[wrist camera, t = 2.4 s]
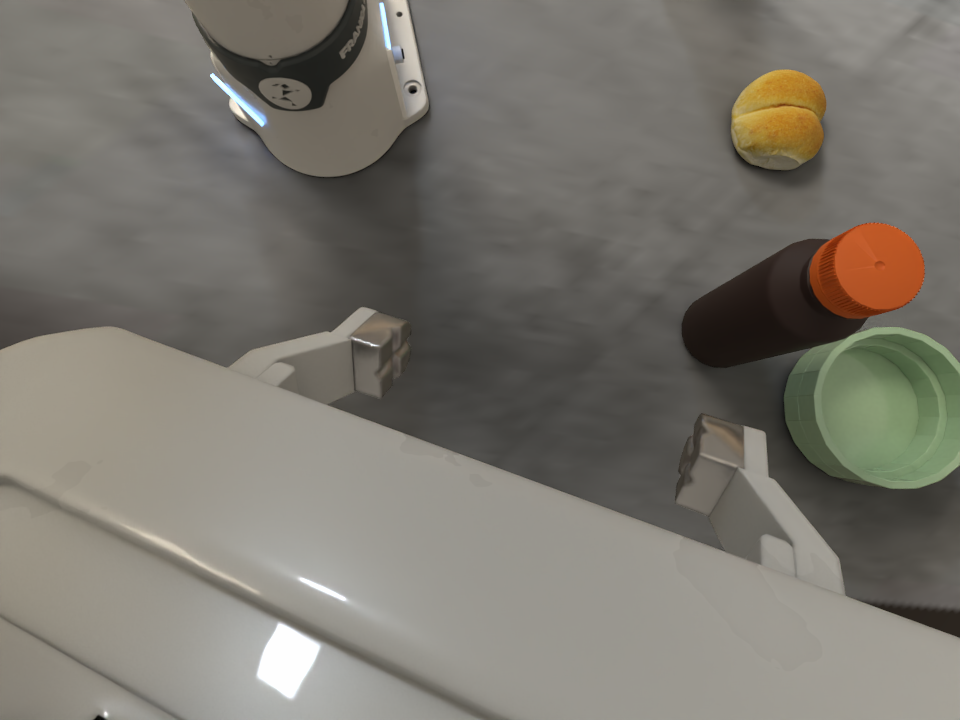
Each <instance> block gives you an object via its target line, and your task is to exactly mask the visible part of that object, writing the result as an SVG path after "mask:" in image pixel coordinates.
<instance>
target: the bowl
mask: <svg viewBox="0 0 960 720" xmlns="http://www.w3.org/2000/svg"><path fill="white" fill-rule="evenodd" d="M784 409H785V420H786V424H787V426H788V429H789V431H790V433H791V436H792V438H793V441H794V443H795V444H796V445H797V447H798V448H799V449H800V450H801V452H802V453H803V454H804V455H805V457H806V458H807V459H808V460H809V461H810V462H811V463H812V464H814V465H815V466H817V467H818V468H820V469H821V470H822V471H824V472H825V473H827V474H828V475H830V476H832V477H836V478H839V479H842V480H845V481H849V482H852V483H857V484H863V485H870V486H876V487H882V488H889V489H917V488H921V487H923V486H926V485H929V484H932V483H935V482H938V481H940V480H942V479H943V478H945V477H946V476H947V475H948V474H949V473H951V472H952V471H953V470H954V469H956V468H957V467H958V466H959V465H960V363H959V362H958V361H957V360H956V359H955V358H954V356H953V355H952V354H951V353H950V352H949V351H948V350H947V349H946V348H945V347H943V346H942V345H940V344H939V343H937V342H936V341H934V340H933V339H931V338H929V337H928V336H926V335H924V334H921V333H918V332H914V331H911V330H907V329H904V328H901V327H875V328H871V329H867V330H863V331H859V332H855V333H853V334H852V335H850V336H849V337H847V338H846V339H843V340H839V341H836V342H832V343H829V344H825V345H820V346H816V347H813V348H812V349H811V350H809V351H808V352H807V353H805V354H804V355H803V356H802V357H801V358H800V359H799V361H798V362H797V364H796V365H795V367H794V369H793V370H792V372H791V373H790V375H789V377H788V381H787V385H786V389H785V393H784Z"/></svg>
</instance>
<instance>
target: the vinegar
mask: <svg viewBox="0 0 960 720" xmlns="http://www.w3.org/2000/svg"><path fill="white" fill-rule="evenodd" d="M913 241H914V240H912V239H911V237H909V236H908V235H906V234H905V232H902V231H901V230H899V229H898V228H895V227H894V226H893V227H892V226H890V225H887V224H883V223H881V224H879V223H876V224H875V222H874V223H872V224H871V223H868V224H867V223H866V224H864V225H863V224H862V225H858V226H856V227H854V228H852V229H850V230H848V231H846V232H844V233H843V234H841V235H839V236H837V237H835V238H833V239H831V240H828V239H807V240H803V241H800V242H796V243H793V244H791V245H789V246H787V247H786V248H784V249H782V250H780V251H779V252H777V253H775V254H774V255H772V256H770V257H769V258H767V259H765V260H764V261H762V262H760V263H758V264H757V265H755V266H753V267H752V268H750V269H748V270H747V271H745V272H743V273H742V274H740V275H738V276H736V277H735V278H733V279H731V280H730V281H728V282H726V283H725V284H723V285H721V286H720V287H718V288H716V289H714V290H713V291H711V292H709V293H708V294H706V295H704V296H703V297H701V298H700V299H698V300H697V301H695V302H694V303H692V305H691V306H690V307H689V309H688V310H687V311H686V313H685V316H684V319H683V322H682V337H683V340H684V343H685V346H686V347H687V349H688V350H689V351H690V353H691V354H692V356H694V357H695V358H696V359H698V360H699V361H700V362H702V363H704V364H707V365H709V366H712V367H721V368H727V367H731V366H736V365H740V364H744V363H748V362H753V361H757V360H761V359H765V358H770V357H774V356H778V355H782V354H787V353H791V352H795V351H799V350H803V349H808V348H812V347H816V346H820V345H825V344H829V343H832V342H836V341H839V340H843V339H846V338H847V337H849V336H850V335H852V334H853V333H855V332H856V331H857V330H859V329H860V328H861V327H862V325H863V324H864V323H865V321H866V320H867V318H868V317H870V316H873V315H878V314H882V313H885V312H889V311H892V310H896V309H899V308H901V307H903V306H904V305H906V304H907V303H909V301H912V299H913V298H915V297H914V296H915V295H917V292H920V291H919V289H921V285H923V284H922V282H923V281H924V280H923V278H925V277H924V274H925V273H924V270H925V269H924V266H925V265H924V260H923V258H922V254H921V253H920V250H919V247H917V245H916V244H915V243H914V242H913Z"/></svg>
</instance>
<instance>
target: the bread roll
mask: <svg viewBox="0 0 960 720" xmlns="http://www.w3.org/2000/svg"><path fill="white" fill-rule="evenodd" d="M825 110H826V99H825V95H824V92H823V90H822V88H821V86H820V85H819V84H818V83H817V82H816V81H815V80H813V79H812V78H811V77H809V76H807V75H805V74H803V73H801V72H797V71H793V70H776V71H772V72H770V73H767V74H765V75H763V76H761V77H760V78H758V79H756V80H755V81H753V82H752V83H751V84H750V85H748V86H747V87H746V88H745V89H744V90H743V92H742V93H741V94H740V96H739V97H738V99H737V101H736V102H735V104H734V106H733V109H732V113H731V114H732V123H731V137H732V140H733V144H734V146H735V148H736V150H737V152H738V153H739V154H740V156H741V157H742V158H743V159H745V160H746V161H747V162H748V163H750V164H752V165H756V166H760V167H763V168H766V169H774V170H791V169H795V168H797V167H798V166H800V165H801V164H802V163H804V162H806V161H808V160H810V159H811V158H813V157H814V156H815V155H816V153H817V152H818V150H819V149H820V147H821V145H822V142H823V138H824V133H823V129H822V127H821V124H820V121H821V119H822V117H823V116H824V113H825Z"/></svg>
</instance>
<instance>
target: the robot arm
mask: <svg viewBox="0 0 960 720" xmlns="http://www.w3.org/2000/svg"><path fill="white" fill-rule="evenodd" d="M184 1H185V3H186V4H187V5H188V7H189V8H190V9H191V11H192V15H193V18H194V21H195V23H196V26H197V27H198V29H199V31H200V33H201V35H202V36H203V39H204V41H205V43H206V44H207V46H208V47H209V49H210V50H211V54H210V56H211V60H212V63H213V65H214V67H215V68H216V70H217V72H218V73H219V75H220V77H221V78H222V80H223V82H224V83H225V85H226V86H227V87H226V86H225V85H224V84H223V83H222V82H221V81H220V80H219V79H218V78H217V77H216V76H215V75H214V74H213V73H212V74H211V75H210V76H211V78H212V79H213V80H214V81H215V82H216V83H217V84H218V85H219V86H220V87H221V88H222V89H223V90H224V91H225V92H226V93H227V94H228V95H229V96H231V97H230V101H229V106H230V109H231V111H232V112H233V114H234V116H235V117H236V118H237V119H238V120H239V121H241V122H242V123H243V124H245V125H247V126H248V127H250V128H251V129H253V130H255V131H256V132H257V133H258V134H259V136H260V137H261V139H262V140H263V142H264V143H265V145H266V146H267V148H268V149H269V150H270V152H271V153H272V154H273V155H274V156H275V157H276V158H277V159H278V160H280V161H281V162H282V163H284V164H285V165H287V166H288V167H290V168H292V169H294V170H296V171H298V172H301V173H304V174H307V175H312V176H318V177H336V176H343V175H347V174H351V173H354V172H357V171H359V170H361V169H363V168H365V167H367V166H369V165H371V164H372V163H374V162H375V161H376V160H378V159H379V158H380V157H381V156H382V155H383V154H384V153H385V152H386V151H387V150H388V149H389V148H390V147H391V145H392V144H393V143H394V141H395V140H396V138H397V137H398V136H399V134H400V133H401V132H402V131H403V130H404V129H405V128H406V127H408V126H409V125H411V124H412V123H414V122H416V121H417V120H419V119H420V118H421V117H423V116H424V115H425V114H426V112H427V111H428V108H429V101H428V96H427V91H426V86H425V82H424V77H423V72H422V67H421V63H420V58H419V53H418V48H417V44H416V39H415V34H414V29H413V25H412V20H411V15H410V10H409V6H408V1H407V0H184ZM412 90H416V91H417V92H416V93H415V94H411V93H410V92H411V91H412ZM410 335H411V324H410V323H409V322H408V321H405V320H402V319H399V318H396V317H393V316H390V315H387V314H385V313H382V312H378V311H375V310H372V309H369V308H366V307H361V308H359V309H358V310H357V311H356V312H354V313H353V314H352V315H351V316H350V317H349V318H347V319H346V320H345V321H344V322H343V323H342V324H340V325H339V326H338V327H337V328H336V329H335V330H334V331H332V332H331V333H330V332H327V331H326V332H322V333H318V334H314V335H310V336H306V337H302V338H298V339H294V340H290V341H285V342H281V343H277V344H273V345H269V346H265V347H261V348H257V349H253V350H250V351H249V352H248V353H246V354H245V355H244V356H242V357H241V358H240V359H239V360H237V361H236V362H235V363H233V364H232V365H231V366H229V367H228V368H225V367H223V366H220V365H217V364H215V363H212V362H209V361H206V360H204V359H201V358H198V357H196V356H193V355H190V354H187V353H185V352H182V351H179V350H177V349H174V348H171V347H168V346H166V345H163V344H160V343H158V342H155V341H152V340H150V339H147V338H144V337H142V336H139V335H137V334H134V333H132V332H129V331H126V330H124V329H120V328H116V327H97V328H87V329H80V330H74V331H68V332H62V333H56V334H50V335H44V336H39V337H35V338H32V339H28V340H25V341H22V342H20V343H17V344H14V345H12V346H9V347H7V348H4V349H2V350H0V720H960V638H958V637H955V636H953V635H950V634H947V633H945V632H942V631H939V630H936V629H933V628H931V627H928V626H925V625H923V624H920V623H917V622H914V621H912V620H909V619H906V618H904V617H901V616H898V615H895V614H892V613H890V612H887V611H884V610H882V609H879V608H876V607H874V606H871V605H868V604H866V603H863V602H860V601H857V600H855V599H852V598H849V597H847V596H846V595H845V589H844V583H843V577H842V571H841V566H840V560H839V558H838V556H837V555H836V554H835V553H834V552H833V550H832V549H831V548H830V547H829V545H828V544H827V543H826V542H825V541H824V539H823V538H822V537H821V536H820V534H819V533H818V532H817V531H816V529H815V528H814V527H813V526H812V525H811V523H810V522H809V521H808V520H807V518H806V517H805V516H804V515H803V514H802V512H801V511H800V510H799V509H798V507H797V506H796V505H795V504H794V502H793V501H792V500H791V499H790V498H789V496H788V495H787V494H786V493H785V491H784V490H783V489H782V488H781V487H780V485H779V484H778V483H777V482H776V480H775V479H772V478H769V473H768V459H767V444H766V434H765V432H764V431H761V430H758V429H754V428H751V427H747V426H744V425H742V426H741V425H738V424H735V423H731V422H728V421H725V420H722V419H718V418H715V417H712V416H709V415H705V414H702V413H701V414H700V415H699V417H698V418H697V421H696V423H695V425H694V434H693V435H692V436H690V437H688V439H687V442H686V444H685V446H684V449H683V452H682V455H681V458H680V463H679V469H678V472H679V473H680V475H681V476H680V478H679V480H678V482H677V486H676V495H675V504H677V505H680V506H682V507H685V508H687V509H690V510H693V511H695V512H698V513H701V514H703V515H706V516H708V517H709V520H710V522H711V524H712V526H713V528H714V530H715V532H716V534H717V536H718V538H719V540H720V542H721V544H722V546H723V548H724V550H725V552H724V551H722V550H719V549H716V548H714V547H711V546H708V545H705V544H703V543H700V542H697V541H695V540H692V539H689V538H686V537H684V536H681V535H678V534H676V533H673V532H670V531H668V530H665V529H662V528H659V527H657V526H654V525H651V524H649V523H646V522H643V521H640V520H638V519H635V518H632V517H630V516H627V515H624V514H621V513H619V512H616V511H613V510H611V509H608V508H605V507H602V506H600V505H597V504H594V503H592V502H589V501H586V500H583V499H581V498H578V497H575V496H573V495H570V494H567V493H564V492H562V491H559V490H556V489H554V488H551V487H548V486H545V485H543V484H540V483H537V482H535V481H532V480H529V479H526V478H524V477H521V476H518V475H516V474H513V473H510V472H507V471H505V470H502V469H499V468H497V467H494V466H491V465H488V464H486V463H483V462H480V461H478V460H475V459H472V458H469V457H467V456H464V455H461V454H459V453H456V452H453V451H450V450H448V449H445V448H442V447H440V446H437V445H434V444H431V443H429V442H426V441H423V440H421V439H418V438H415V437H413V436H410V435H407V434H404V433H402V432H399V431H396V430H394V429H391V428H388V427H385V426H383V425H380V424H377V423H375V422H372V421H369V420H366V419H364V418H361V417H358V416H356V415H353V414H350V413H347V412H345V411H342V410H339V409H337V408H334V407H331V406H328V405H327V404H329V403H331V402H333V401H336V400H338V399H340V398H342V397H345V396H347V395H349V394H351V393H354V392H355V391H357V392H361V393H364V394H367V395H370V396H373V397H376V398H379V399H381V398H382V397H383V396H384V395H385V394H386V393H387V391H388V390H389V389H390V388H391V387H392V386H393V379H394V378H397V377H400V376H401V375H402V374H403V372H404V371H405V370H406V367H407V365H408V363H409V360H410V355H411V346H410V345H409V343H408V341H407V339H408V337H409V336H410Z"/></svg>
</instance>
